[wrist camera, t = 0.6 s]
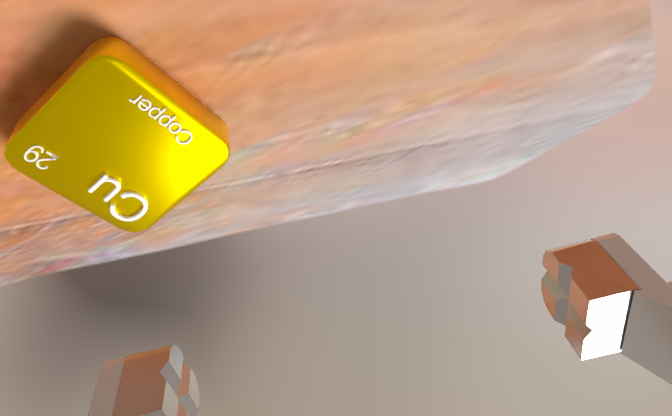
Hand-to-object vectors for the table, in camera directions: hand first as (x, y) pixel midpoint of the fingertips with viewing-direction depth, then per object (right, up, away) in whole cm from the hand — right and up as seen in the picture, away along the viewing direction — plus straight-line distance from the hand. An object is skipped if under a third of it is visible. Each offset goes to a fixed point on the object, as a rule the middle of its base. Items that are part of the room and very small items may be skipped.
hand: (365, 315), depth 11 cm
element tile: (-21, +10, +40) cm, 46 cm away
